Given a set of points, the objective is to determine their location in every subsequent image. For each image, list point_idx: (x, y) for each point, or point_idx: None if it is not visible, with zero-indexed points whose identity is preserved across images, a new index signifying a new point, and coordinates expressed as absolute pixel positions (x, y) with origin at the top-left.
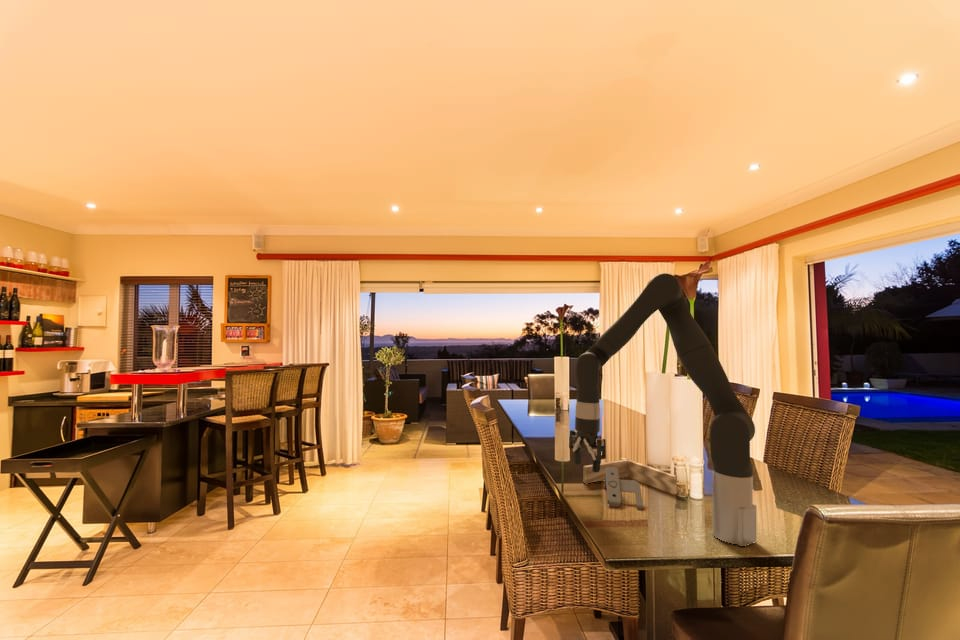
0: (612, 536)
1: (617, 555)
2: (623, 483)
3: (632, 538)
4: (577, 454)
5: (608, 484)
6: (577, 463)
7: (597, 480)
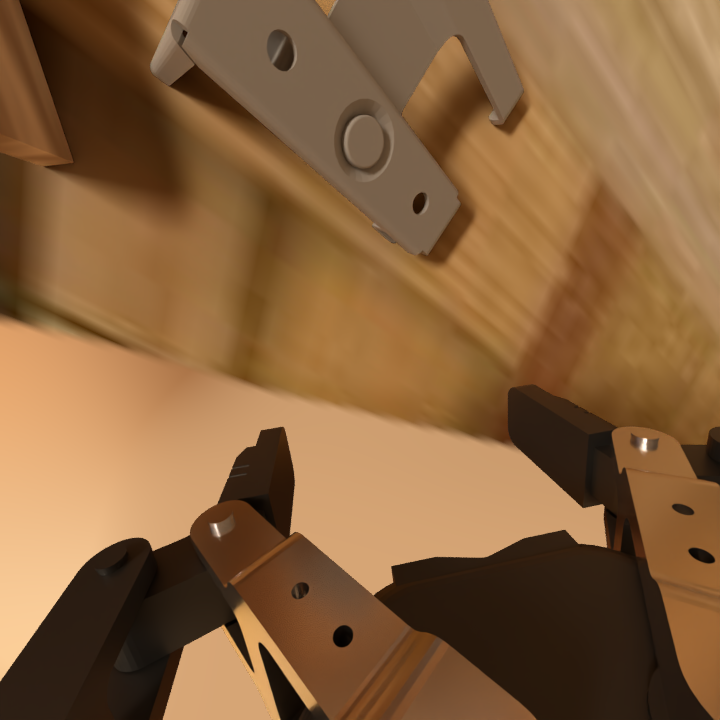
0: (624, 413)
1: None
2: (368, 34)
3: (668, 359)
4: (282, 526)
5: (350, 177)
6: (289, 460)
7: (20, 31)
